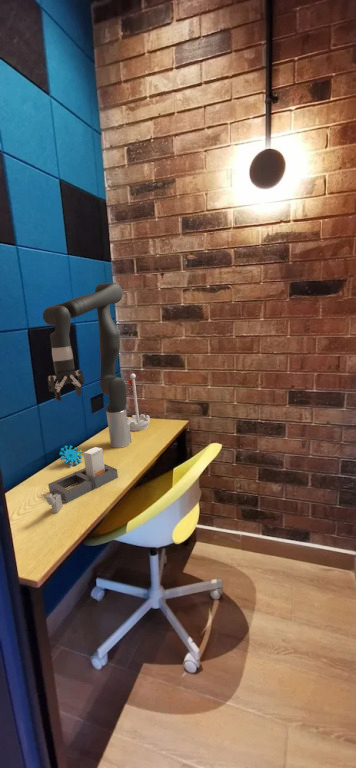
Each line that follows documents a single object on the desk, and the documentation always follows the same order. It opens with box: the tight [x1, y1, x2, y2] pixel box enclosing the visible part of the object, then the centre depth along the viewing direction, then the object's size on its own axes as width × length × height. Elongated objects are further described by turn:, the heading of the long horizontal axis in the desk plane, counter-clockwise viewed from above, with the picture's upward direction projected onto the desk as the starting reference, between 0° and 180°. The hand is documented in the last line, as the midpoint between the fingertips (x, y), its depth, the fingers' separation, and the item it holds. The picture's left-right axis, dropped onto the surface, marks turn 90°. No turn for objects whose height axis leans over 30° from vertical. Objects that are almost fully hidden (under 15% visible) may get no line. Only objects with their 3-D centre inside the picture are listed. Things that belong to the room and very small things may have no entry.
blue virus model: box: [58, 445, 83, 467], centre depth 152 cm, size 11×6×10 cm
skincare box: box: [83, 446, 105, 478], centre depth 134 cm, size 6×4×12 cm
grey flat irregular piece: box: [44, 493, 63, 514], centre depth 114 cm, size 7×2×8 cm, turn 175°
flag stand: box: [127, 373, 151, 432], centre depth 188 cm, size 13×13×30 cm
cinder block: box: [48, 463, 119, 504], centre depth 131 cm, size 22×12×4 cm, turn 137°
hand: (69, 398), depth 140 cm, fingers open, 8 cm apart
